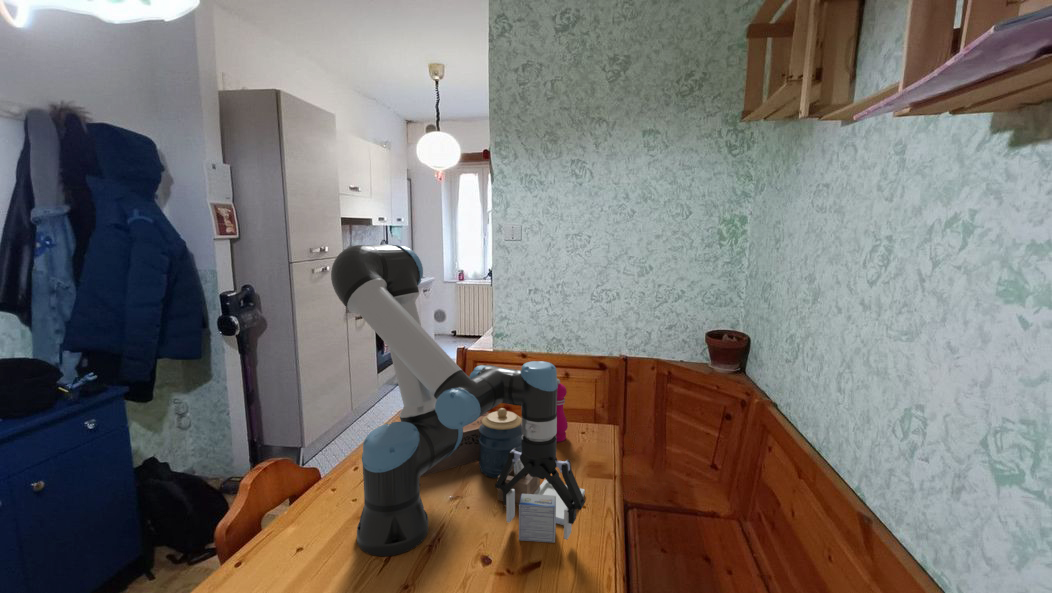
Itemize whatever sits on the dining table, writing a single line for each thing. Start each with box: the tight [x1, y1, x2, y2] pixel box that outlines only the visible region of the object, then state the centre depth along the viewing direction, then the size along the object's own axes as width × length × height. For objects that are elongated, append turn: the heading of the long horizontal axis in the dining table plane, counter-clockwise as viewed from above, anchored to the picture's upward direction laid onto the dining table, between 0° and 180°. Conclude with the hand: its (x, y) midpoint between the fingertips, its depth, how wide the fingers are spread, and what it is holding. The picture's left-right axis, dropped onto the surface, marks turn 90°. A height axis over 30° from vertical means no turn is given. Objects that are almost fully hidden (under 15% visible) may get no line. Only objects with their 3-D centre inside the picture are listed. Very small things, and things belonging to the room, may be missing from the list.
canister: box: [478, 407, 523, 479], centre depth 128 cm, size 13×13×18 cm
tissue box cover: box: [420, 411, 491, 477], centre depth 136 cm, size 26×14×10 cm, turn 122°
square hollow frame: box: [497, 466, 541, 506], centre depth 115 cm, size 8×8×6 cm
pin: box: [514, 459, 525, 479], centre depth 115 cm, size 3×3×10 cm
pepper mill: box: [556, 378, 569, 443], centre depth 148 cm, size 7×7×20 cm
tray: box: [534, 479, 586, 526], centre depth 112 cm, size 11×14×2 cm
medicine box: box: [518, 494, 557, 544], centre depth 99 cm, size 8×4×9 cm, turn 84°
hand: (538, 527), depth 100 cm, fingers open, 13 cm apart
